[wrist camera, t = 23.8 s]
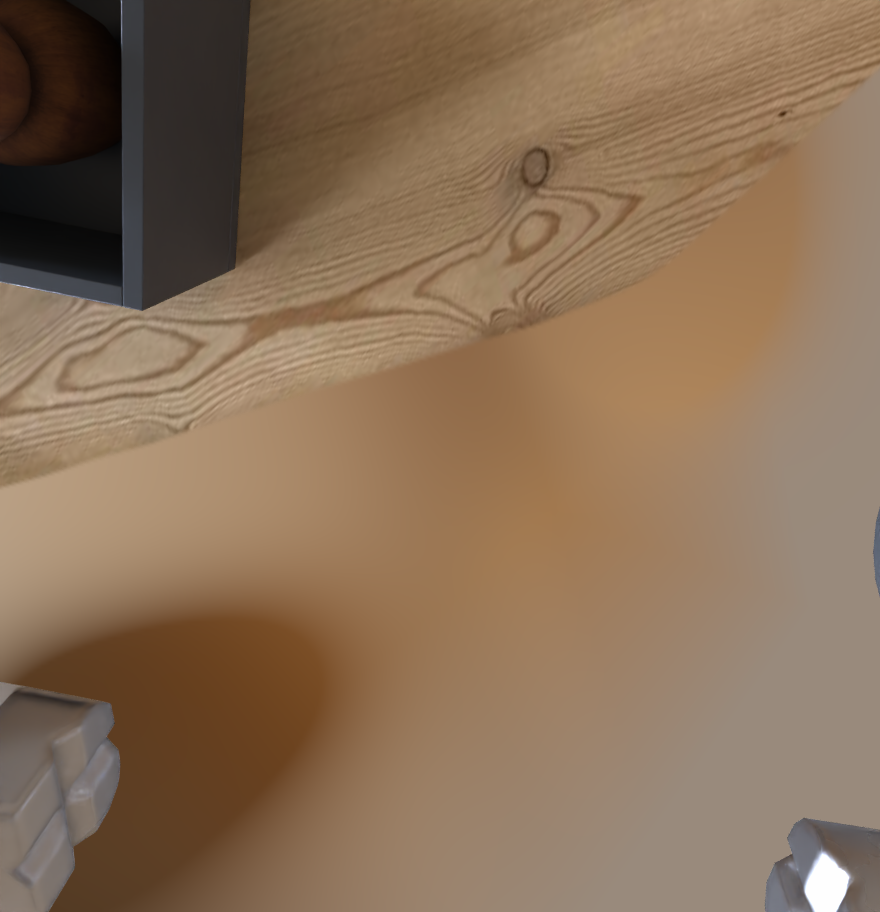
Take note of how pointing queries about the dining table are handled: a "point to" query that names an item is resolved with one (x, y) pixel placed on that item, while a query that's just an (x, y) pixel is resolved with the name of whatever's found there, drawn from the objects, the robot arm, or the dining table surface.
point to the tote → (142, 166)
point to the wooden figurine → (56, 84)
